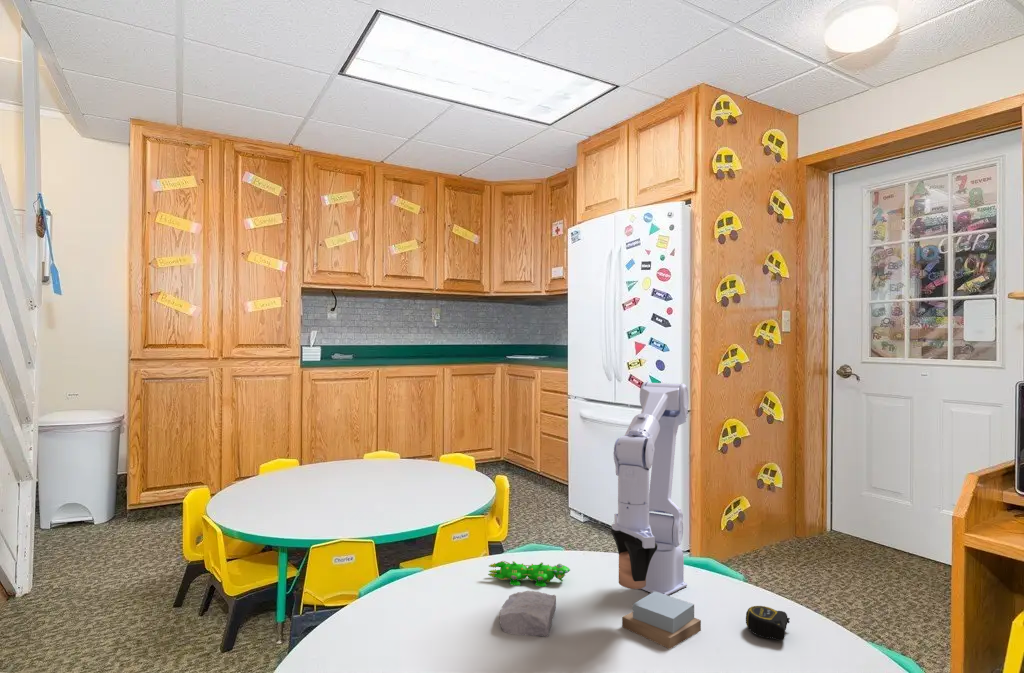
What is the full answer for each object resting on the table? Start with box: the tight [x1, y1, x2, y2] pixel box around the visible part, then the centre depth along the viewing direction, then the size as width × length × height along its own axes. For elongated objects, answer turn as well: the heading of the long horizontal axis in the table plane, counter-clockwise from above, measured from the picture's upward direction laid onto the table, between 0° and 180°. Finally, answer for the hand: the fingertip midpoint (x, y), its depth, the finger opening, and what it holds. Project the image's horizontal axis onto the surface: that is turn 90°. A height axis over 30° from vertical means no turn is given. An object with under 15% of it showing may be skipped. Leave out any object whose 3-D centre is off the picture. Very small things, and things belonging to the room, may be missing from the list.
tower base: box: [621, 611, 702, 650], centre depth 102 cm, size 10×10×2 cm
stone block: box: [499, 590, 557, 637], centre depth 104 cm, size 12×5×10 cm
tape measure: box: [745, 605, 790, 641], centre depth 101 cm, size 7×7×4 cm
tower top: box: [632, 591, 695, 633], centre depth 102 cm, size 8×8×2 cm
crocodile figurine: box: [487, 560, 571, 588], centre depth 122 cm, size 7×18×4 cm, turn 86°
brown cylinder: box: [618, 551, 646, 590], centre depth 104 cm, size 5×5×5 cm
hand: (633, 574), depth 104 cm, fingers closed on brown cylinder, 5 cm apart
